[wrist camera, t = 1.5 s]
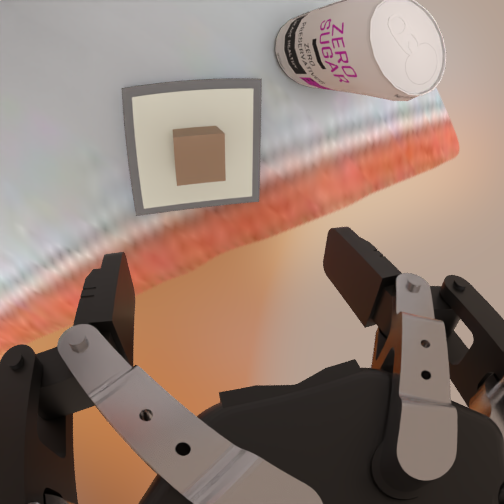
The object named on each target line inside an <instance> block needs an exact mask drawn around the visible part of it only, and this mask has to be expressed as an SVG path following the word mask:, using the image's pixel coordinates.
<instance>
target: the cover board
mask: <svg viewBox="0 0 504 504" xmlns="http://www.w3.org/2000/svg"><path fill="white" fill-rule="evenodd" d="M253 91H254V89H252V88H236V89H207V90H191V91H179V92H168V93H159V94H151V95H143V96H136V97H132V106H133V120H134V132H135V143H136V153H137V162H138V170H139V178H140V186H141V193H142V200H143V206H144V209H146V208H153V207H161V206H168V205H176V204H184V203H193V202H201V201H210V200H220V199H230V198H240V197H251V196H252V170H253Z"/></svg>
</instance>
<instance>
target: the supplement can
mask: <svg viewBox="0 0 504 504" xmlns="http://www.w3.org/2000/svg"><path fill="white" fill-rule="evenodd" d="M275 52H276V55H277V59H278V62H279V65H280V66H281V68H282V69H283V70H284V72H285V73H286V74H287V76H288V77H290V78H291V79H293V80H294V81H296V82H297V83H298V84H301V85H305V86H308V87H311V88H320V89H329V90H336V91H343V92H350V93H356V94H362V95H367V96H373V97H378V98H383V99H388V100H392V101H409V100H411V99H413V98H415V97H417V96H422V95H424V94H426V93H429V92H431V91H433V89H434V88H435V87H436V86H437V85H438V83H439V82H440V81H441V79H442V76H443V73H444V70H445V65H446V49H445V44H444V39H443V35H442V33H441V31H440V29H439V27H438V24H437V22H436V21H435V19H434V18H433V17H432V16H431V14H430V13H429V12H428V11H427V9H425V8H424V7H423V6H421V5H420V4H419V3H417V2H416V1H415V0H342V1H338V2H335V3H332V4H329V5H327V6H324V7H321V8H318V9H315V10H313V11H310V12H307V13H305V14H302V15H300V16H297V17H295V18H293V19H291V20H289V21H288V22H287V23H286V24H285V25H284V26H282V27H281V29H280V32H279V34H278V36H277V38H276V49H275Z"/></svg>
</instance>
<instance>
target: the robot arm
mask: <svg viewBox="0 0 504 504" xmlns="http://www.w3.org/2000/svg"><path fill="white" fill-rule="evenodd" d="M323 266H324V271H325V273H326V275H327V277H328V278H329V279H330V281H331V282H332V283H333V284H334V286H335V287H336V289H337V290H338V291H339V293H340V294H341V295H342V297H343V298H344V299H345V301H346V302H347V303H348V305H349V306H350V308H351V309H352V310H353V312H354V313H355V314H356V316H357V317H358V319H359V320H360V321H361V323H362V324H363V325H364V327H369V326H372V325H375V324H377V325H378V328H377V331H376V335H375V343H374V351H373V359H372V365H371V368H360V367H359V365H358V363H357V362H356V360H355V359H354V360H351V361H348V362H345V363H341V364H338V365H335V366H331V367H328V368H325V369H323V370H322V371H320V372H318V373H316V374H315V375H313V376H311V377H309V378H307V379H306V380H304V381H302V382H300V383H298V384H295V385H276V386H275V385H274V386H252V387H246V388H241V389H236V390H230V391H225V392H220V393H219V396H220V403H218V404H216V405H214V406H212V407H210V408H208V409H206V410H205V411H204V412H202V413H201V414H199V415H198V416H197V417H196V416H195V415H194V414H193V413H191V412H190V411H189V410H188V409H187V408H185V407H184V406H183V405H182V404H181V403H179V402H178V401H177V400H176V399H175V398H173V397H172V396H171V395H170V394H169V393H168V392H167V391H165V390H164V389H163V388H162V387H161V386H160V385H159V384H158V383H157V382H155V381H154V380H153V379H152V378H151V377H150V376H149V375H148V374H147V373H146V372H144V371H143V370H142V369H141V368H140V367H139V366H137V365H135V366H134V367H133V340H134V311H135V293H134V287H133V283H132V279H131V275H130V271H129V267H128V263H127V259H126V255H125V253H124V252H119V253H112V254H105V255H104V258H103V262H102V266H101V269H93V270H92V272H91V273H90V274H89V275H88V276H87V278H86V279H85V283H84V286H83V290H82V293H81V298H80V301H79V304H78V308H77V312H76V316H75V320H74V325H73V327H71V328H69V329H67V330H66V331H65V332H64V333H63V334H62V335H61V337H60V338H59V341H58V345H57V347H55V348H53V349H50V350H47V351H44V352H41V353H38V354H35V352H34V351H33V349H32V348H31V347H29V346H27V345H17V346H14V347H12V348H10V349H9V350H8V351H7V352H6V353H5V354H4V355H3V357H2V359H1V361H0V504H78V500H77V492H76V483H75V471H74V455H73V413H75V412H77V411H80V410H83V409H86V408H89V407H92V406H96V407H97V409H98V410H99V411H100V412H101V414H102V415H103V416H104V417H105V419H106V420H107V421H108V422H109V423H110V425H111V426H112V427H113V428H114V429H115V431H116V432H117V433H118V434H119V435H120V436H121V437H122V438H123V439H124V441H125V442H126V443H127V444H128V445H129V446H130V447H131V448H132V449H133V450H134V451H135V452H136V453H137V455H138V456H139V457H140V458H141V459H142V460H143V461H144V462H145V463H146V464H147V465H148V466H149V467H150V468H151V469H152V470H153V471H155V472H156V473H157V476H156V477H155V479H154V480H153V482H152V484H151V485H150V487H149V488H148V490H147V491H146V493H145V494H144V496H143V497H142V499H141V501H140V502H139V504H504V320H503V318H502V317H501V316H500V315H499V314H498V313H497V312H496V311H495V310H494V308H493V307H492V306H491V305H490V304H489V303H488V302H487V301H486V300H485V299H484V298H483V297H482V296H481V295H480V294H479V293H478V292H477V291H476V290H475V289H474V287H473V286H472V285H470V283H468V282H467V281H466V280H464V279H463V278H461V277H459V276H455V275H449V276H447V277H446V278H445V279H444V282H443V284H442V286H429V284H428V283H427V282H426V281H425V280H424V279H423V278H422V277H420V276H418V275H415V274H412V273H403V274H402V273H401V272H400V271H399V270H398V269H397V268H396V267H395V266H394V265H393V264H392V263H391V262H390V261H389V260H388V259H387V258H386V257H383V254H381V253H380V252H379V251H377V249H376V248H375V247H374V246H373V245H372V244H371V243H370V242H368V241H366V240H364V239H362V238H360V237H359V236H358V235H357V234H356V233H355V232H353V231H352V230H351V229H350V228H349V227H339V228H331V229H330V230H329V232H328V236H327V242H326V248H325V254H324V260H323ZM460 319H461V320H462V321H463V322H464V323H465V325H466V326H467V327H468V328H469V330H470V331H471V332H472V334H473V337H474V341H473V344H472V346H471V348H470V349H468V348H467V347H466V345H465V344H464V343H463V342H462V340H461V339H460V338H459V337H458V335H457V334H456V333H455V331H454V329H455V327H456V325H457V323H458V321H459V320H460ZM450 379H451V381H452V382H453V384H454V385H455V387H456V388H457V390H458V392H459V393H460V395H461V396H462V398H463V399H464V401H465V402H466V404H467V406H468V407H469V408H468V407H465V406H463V405H460V404H458V403H456V402H454V401H451V397H450Z"/></svg>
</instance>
